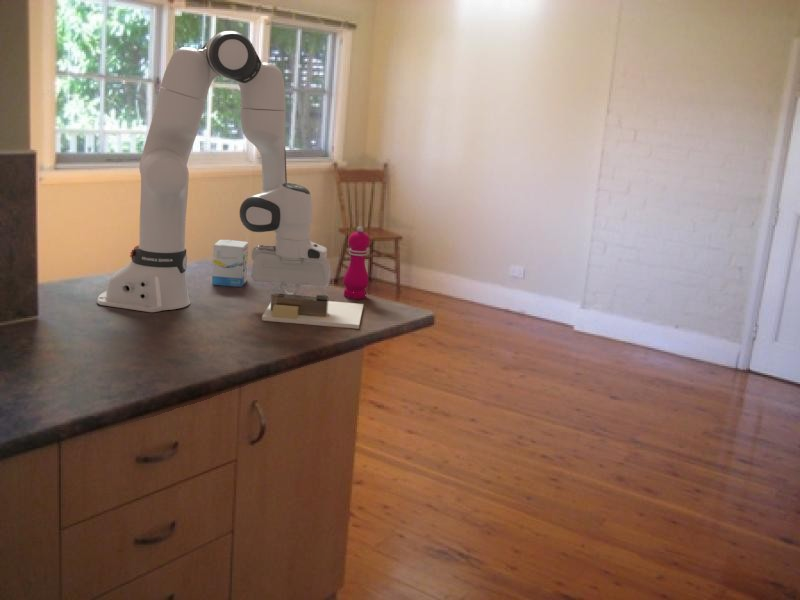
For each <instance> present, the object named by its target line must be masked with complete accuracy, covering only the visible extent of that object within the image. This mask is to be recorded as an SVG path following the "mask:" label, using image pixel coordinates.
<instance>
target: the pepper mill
mask: <svg viewBox="0 0 800 600" xmlns="http://www.w3.org/2000/svg"><path fill="white" fill-rule="evenodd" d="M363 231H364V227H363V226H357V227H356V231H354V232H352V233H351V234H350V235H349V237H348V245H349V247H350V248H349V251H348V252H349V255H350V259H349V260H350V261H349V266H348V268H347V270H346V272H345V273H344V275H343V279H342V283H343V285H344V286H345V288H344V290H343V296H344V297H345V298H347V299H353V300H362V299H365V298H366V297H367V290H366V288H367V287H369V284H370V283H369V282H370V280H369V279H370V278H369V274H368V271H367V269H366V262H365V261H366V256H367V255H368V248H369V246H370V243H371V240H370V236H369V235H368V234H367V233H366V232H363ZM353 292H354V293H353ZM365 295H366V296H365Z"/></svg>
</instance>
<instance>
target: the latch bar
mask: <svg viewBox="0 0 800 600" xmlns="http://www.w3.org/2000/svg"><path fill="white" fill-rule="evenodd" d="M270 296H271V297H270V303H271V311H273V306H274V305H275V304H276V305H288V306H299V308H298V314H306V315H317V316H326V315H327V313H328V301H330V300H329V298H328V296H327V295H324V294H317V295H316V296H309V295H297V294H296V295H289V294H284V293H272V294H271V295H270Z"/></svg>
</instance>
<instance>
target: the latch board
mask: <svg viewBox="0 0 800 600" xmlns="http://www.w3.org/2000/svg"><path fill="white" fill-rule="evenodd" d="M298 308H299V306H288V305H276V304H275V305H274V306H273V311H271V302H270V303H269V305H268V306H267V308H266V309H265V311H264V313H263V314H262V316H261V321H264V322H265V321H266V322H277V323H278V322H279V323H289V324H299V325H301V324H302V325H309V326H310V325H312V326H323V327H335V328H343V329H344V328H346V329H357V330H359V329H360V326H361V325H360V324H361V319H362V315H363V312H364V303H355V302H343V301H342V302H341V301H331V300H329V301H328V313H327V315H326V316H317V315H306V314H298Z"/></svg>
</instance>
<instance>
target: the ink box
mask: <svg viewBox="0 0 800 600" xmlns="http://www.w3.org/2000/svg"><path fill="white" fill-rule="evenodd" d="M212 257H213V258H212V259H213V260H212V277H211V283H212V284H211V285H213V286H214V285H215V286H225V287H237V288H242V287H243V286H244V285H245V283H246V282H247V280H248V279H247V278H248V262H249V261H248V260H249V241H243V240H233V239H218V241H216V242H215V243H214V244H213V253H212Z"/></svg>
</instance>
